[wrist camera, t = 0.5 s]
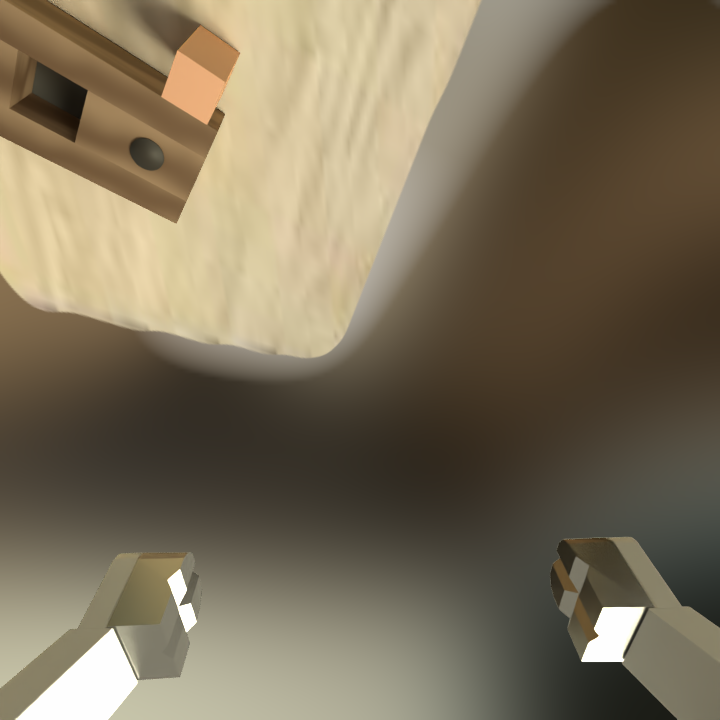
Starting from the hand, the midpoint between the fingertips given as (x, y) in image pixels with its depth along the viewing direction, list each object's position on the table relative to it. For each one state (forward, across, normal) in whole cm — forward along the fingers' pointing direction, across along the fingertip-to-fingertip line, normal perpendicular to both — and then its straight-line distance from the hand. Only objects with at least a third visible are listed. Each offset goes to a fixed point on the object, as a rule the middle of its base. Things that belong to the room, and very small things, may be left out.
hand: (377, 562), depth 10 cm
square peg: (+47, +13, -14) cm, 51 cm away
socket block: (+48, +25, -9) cm, 55 cm away
